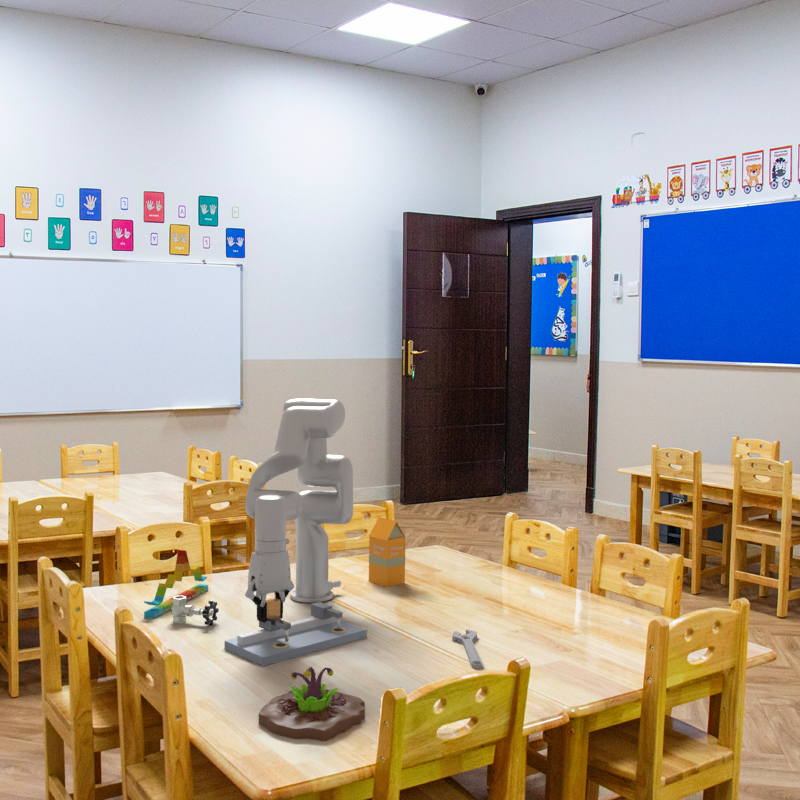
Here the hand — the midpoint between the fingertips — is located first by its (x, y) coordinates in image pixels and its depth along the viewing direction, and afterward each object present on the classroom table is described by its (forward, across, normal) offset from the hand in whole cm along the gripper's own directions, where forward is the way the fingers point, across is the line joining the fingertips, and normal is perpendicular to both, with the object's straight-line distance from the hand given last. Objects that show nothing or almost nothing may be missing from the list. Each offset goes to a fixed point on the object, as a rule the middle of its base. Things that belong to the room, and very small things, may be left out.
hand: (269, 618), depth 223 cm
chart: (+7, -2, -47) cm, 48 cm away
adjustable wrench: (+7, -34, +35) cm, 49 cm away
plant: (+7, +20, +42) cm, 47 cm away
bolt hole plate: (+7, -6, +3) cm, 10 cm away
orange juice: (+7, -63, -26) cm, 69 cm away
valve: (+7, +5, -28) cm, 29 cm away
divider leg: (+4, 0, +3) cm, 5 cm away
